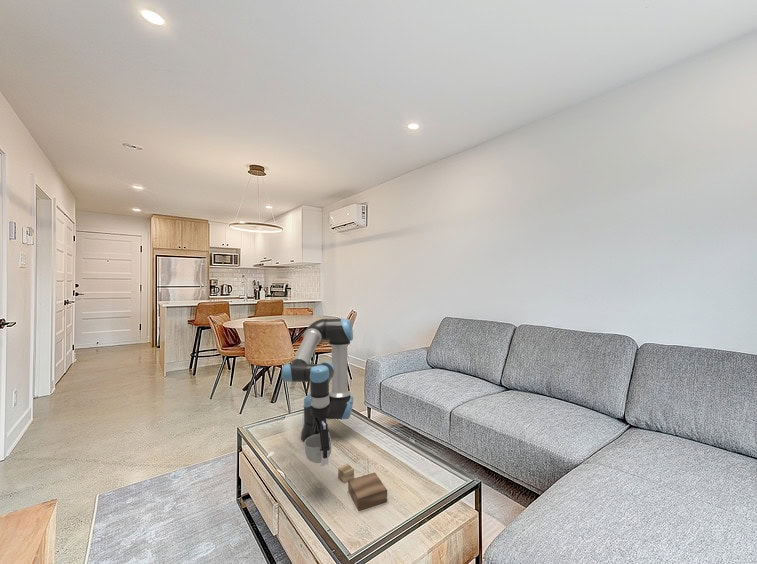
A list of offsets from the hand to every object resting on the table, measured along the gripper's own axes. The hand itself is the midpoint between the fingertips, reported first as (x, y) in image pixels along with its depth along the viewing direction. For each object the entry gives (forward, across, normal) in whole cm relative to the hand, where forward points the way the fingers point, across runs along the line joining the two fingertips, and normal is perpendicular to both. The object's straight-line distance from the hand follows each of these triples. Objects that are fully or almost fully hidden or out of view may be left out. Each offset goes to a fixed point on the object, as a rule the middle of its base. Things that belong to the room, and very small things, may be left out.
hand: (321, 456), depth 135 cm
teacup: (+1, -1, 0) cm, 1 cm away
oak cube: (+15, -3, +12) cm, 20 cm away
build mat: (+15, +10, +16) cm, 24 cm away
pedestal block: (+14, +12, +16) cm, 24 cm away
